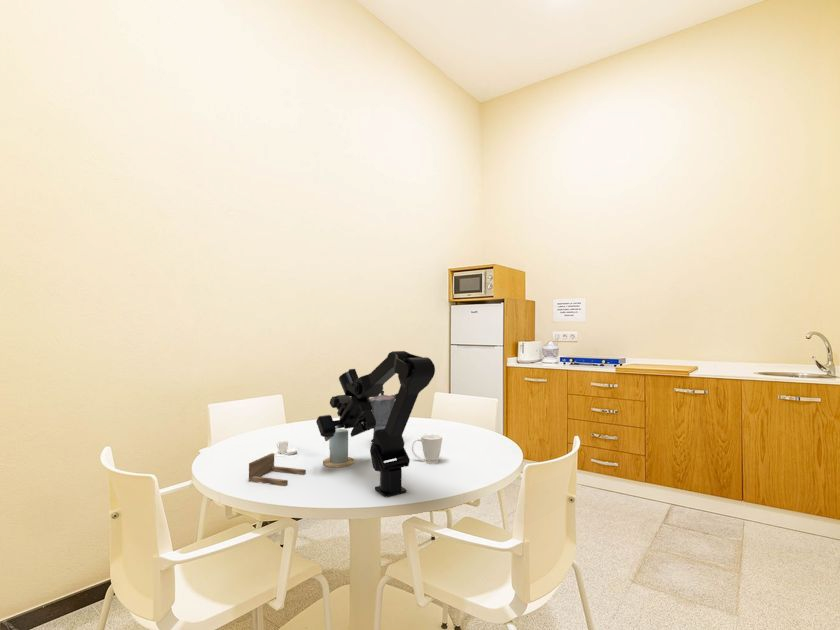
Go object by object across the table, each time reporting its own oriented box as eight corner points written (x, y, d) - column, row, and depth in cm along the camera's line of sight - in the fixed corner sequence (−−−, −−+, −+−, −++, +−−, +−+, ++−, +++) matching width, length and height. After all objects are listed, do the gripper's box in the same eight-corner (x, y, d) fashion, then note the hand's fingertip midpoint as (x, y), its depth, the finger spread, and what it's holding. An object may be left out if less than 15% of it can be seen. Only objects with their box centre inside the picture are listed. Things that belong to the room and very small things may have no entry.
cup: (441, 465, 133) (441, 439, 133) (410, 464, 134) (410, 438, 135) (443, 458, 140) (443, 434, 140) (413, 457, 141) (413, 433, 142)
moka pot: (360, 445, 156) (361, 390, 157) (392, 437, 167) (392, 387, 168) (376, 450, 149) (377, 393, 150) (408, 442, 160) (408, 389, 161)
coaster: (359, 464, 134) (359, 462, 134) (329, 469, 129) (329, 467, 129) (347, 456, 143) (347, 454, 143) (318, 460, 137) (318, 459, 137)
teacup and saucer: (301, 454, 146) (301, 442, 146) (280, 459, 140) (280, 447, 140) (287, 449, 152) (287, 438, 152) (267, 454, 146) (267, 442, 146)
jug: (351, 461, 135) (351, 431, 136) (334, 465, 132) (335, 434, 132) (338, 455, 142) (339, 426, 142) (322, 458, 139) (323, 429, 139)
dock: (305, 473, 125) (306, 456, 125) (285, 485, 115) (285, 467, 116) (271, 469, 129) (271, 453, 129) (248, 481, 119) (249, 463, 119)
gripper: (372, 385, 138) (355, 413, 147) (319, 389, 127) (304, 420, 135) (385, 412, 132) (367, 441, 140) (330, 420, 120) (314, 451, 129)
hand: (338, 437), depth 136 cm, fingers open, 9 cm apart
